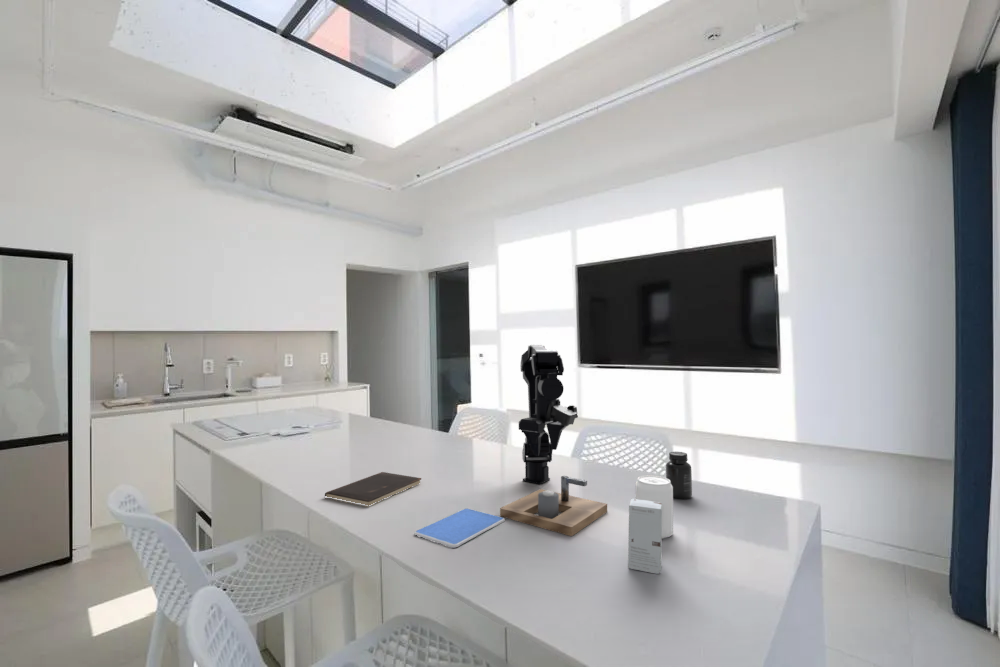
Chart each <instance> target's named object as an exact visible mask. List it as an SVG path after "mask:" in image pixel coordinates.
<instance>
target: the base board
mask: <svg viewBox="0 0 1000 667" xmlns="http://www.w3.org/2000/svg"><path fill="white" fill-rule="evenodd" d="M543 491H548V490H547V489H541V488H540V489H537V490H535V491H533V492H532V493H529V494H527V495H525V496H523V497H521V498H519V499H517V500H516V499H515V500H514V501H512V502H509V503H508V504H506V505H504V506H502V507H499V517H502V518H504V519H505V518H506V519H508V520H513V521H515V522H518V523H519V522H520V523H523V524H527V525H531V526H534V527H538V528H540V529H544V530H548V531H550V532H551V531H552V532H554V533H558V534H562V535H566V536H570V537H573V536H575V535H576V534H577V533H579V532H580V531H582V530H583V529H584V528H586V527H587V526H589V525H590V524H592V523H593V522H594V521H596V520H597V519H599V518H600V517H602V516H603V515H605V514H606V513H607V512H608V503H606V502H600V501H596V500H592V499H588V498H587V499H586V498H584V497H583V498H582V497H577V496H573V495H570V494H569V501H562V500H561V492H555V491H554V492H555V493H557V494H558V495H559V515H558V516H556V517H555V518H553V519H550V518H546V517H542V516H538V515H537V514H538V494H539V493H541V492H543Z"/></svg>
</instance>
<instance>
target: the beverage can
mask: <svg viewBox="0 0 1000 667" xmlns="http://www.w3.org/2000/svg"><path fill="white" fill-rule="evenodd" d="M634 494H635V495H634V496H635V498H634V499H638V500H647V501H653V502H659V503H662V539H667V538H669V537H671V536H673V534H674V498H673V487H672V485H671V481H670V480H669V479H667V478H666V477H664V476H660V475H653V474H652V475H647V474H646V475H640V476H638V477H637V480H636V482H635V493H634Z"/></svg>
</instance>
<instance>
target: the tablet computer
mask: <svg viewBox="0 0 1000 667" xmlns="http://www.w3.org/2000/svg"><path fill="white" fill-rule="evenodd" d="M505 521H506V520H505V517H501V516H497V515H493V514H489V513H486V512H482V511H480V510H479V511H478V510H475V509H471V508H464V509H462V510H459V511H456V512H455V513H453V514H451V515H449V516H446V517H445V518H444V517H443V518H442V519H440V520H437V521H435V522H433V523H431V524H429V525H426V526H424V527H422V528H420V529H417V530H416V531H414V534H415V535H417V536H420V537H423V538H426V539H429V540H432V541H435V542H437V543H436V544H438V543H441V544H443V545H442V546H444V545H446V546H445V547H447V546H448V547H447V548H451V549H453V548H454V549H455V548H458V547H460V546H462V545H463V544H465V543H467V542H469V541H470V540H472V539H474V538H476V537H478V536H479V535H481V534H483V533H485V532H487V531H489V530H490V529H492V528H495V527H496V526H498V525H500V524H502V523H504V522H505ZM414 534H413V535H414ZM415 535H414V536H415ZM417 536H416V537H417ZM420 537H419V538H420ZM423 538H422V539H423ZM426 539H425V540H426ZM429 540H428V541H429ZM432 541H431V542H432ZM435 542H434V543H435ZM441 544H440V545H441Z"/></svg>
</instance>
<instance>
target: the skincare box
mask: <svg viewBox="0 0 1000 667" xmlns="http://www.w3.org/2000/svg"><path fill="white" fill-rule="evenodd" d="M662 539H663V538H662V503H659V502H653V501H647V500H638V499H635V498H631V499H630V502H629V505H628V543H627V544H628V546H627V548H628V552H627V553H628V554H627V558H628V560H627V569H629V570H630V569H632V570H636V571H641V572H646V573H652V574H656V575H659V574H661V568H662V552H663V551H662V548H663V546H662V542H663V541H662Z"/></svg>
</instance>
